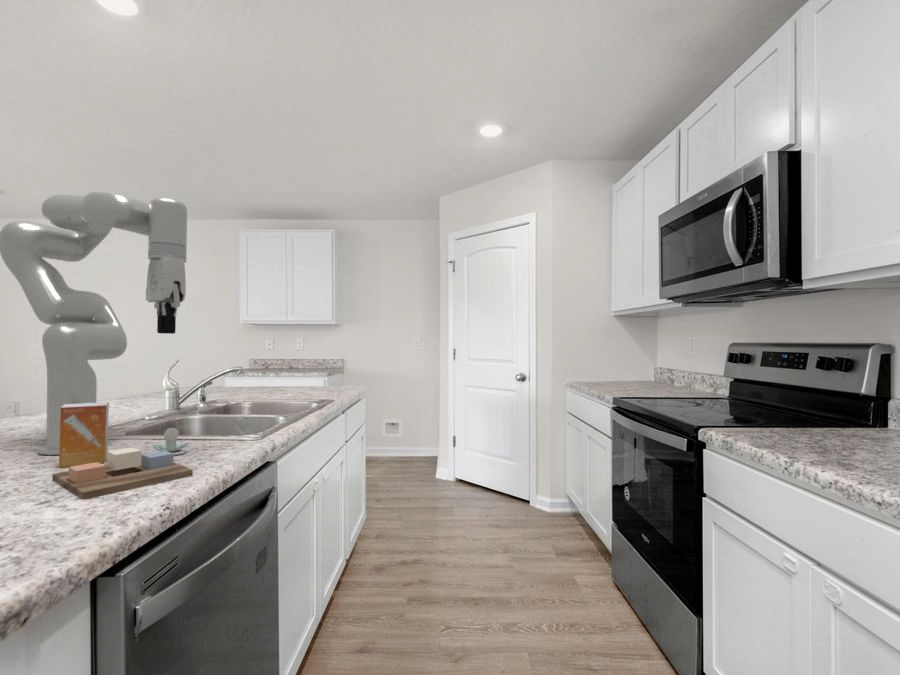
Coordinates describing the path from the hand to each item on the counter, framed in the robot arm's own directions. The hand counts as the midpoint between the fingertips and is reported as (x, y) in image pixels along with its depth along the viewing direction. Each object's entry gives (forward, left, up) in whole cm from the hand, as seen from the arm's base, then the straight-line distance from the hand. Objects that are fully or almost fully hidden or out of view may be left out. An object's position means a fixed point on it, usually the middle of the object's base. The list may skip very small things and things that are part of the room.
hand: (166, 333), depth 105 cm
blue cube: (+9, -5, -28) cm, 30 cm away
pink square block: (+9, -17, -29) cm, 34 cm away
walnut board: (+9, -11, -29) cm, 32 cm away
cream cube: (+9, -11, -27) cm, 30 cm away
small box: (-11, -12, -29) cm, 34 cm away
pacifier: (-4, +3, -29) cm, 30 cm away
